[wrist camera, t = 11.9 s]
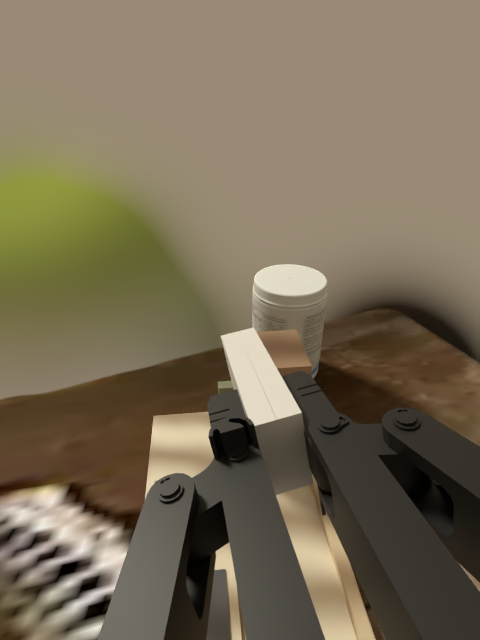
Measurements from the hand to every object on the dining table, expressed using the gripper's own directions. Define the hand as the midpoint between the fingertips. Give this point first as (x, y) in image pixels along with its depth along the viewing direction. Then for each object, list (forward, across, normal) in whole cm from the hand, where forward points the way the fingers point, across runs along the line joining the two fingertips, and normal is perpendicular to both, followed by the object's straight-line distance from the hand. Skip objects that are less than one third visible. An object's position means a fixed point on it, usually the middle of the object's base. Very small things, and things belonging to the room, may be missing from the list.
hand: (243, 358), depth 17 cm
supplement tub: (+33, +8, -21) cm, 40 cm away
